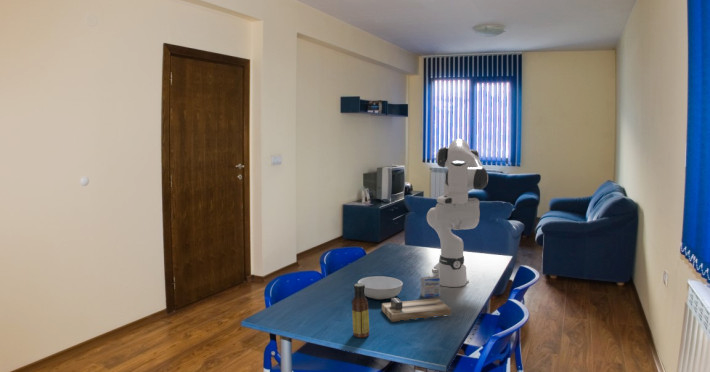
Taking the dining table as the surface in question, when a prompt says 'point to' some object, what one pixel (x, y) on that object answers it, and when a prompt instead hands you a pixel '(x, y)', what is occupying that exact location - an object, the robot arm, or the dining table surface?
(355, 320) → the sauce bottle
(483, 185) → the robot arm
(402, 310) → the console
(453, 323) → the dining table surface
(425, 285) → the medicine box
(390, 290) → the serving bowl
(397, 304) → the fader
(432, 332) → the dining table surface
